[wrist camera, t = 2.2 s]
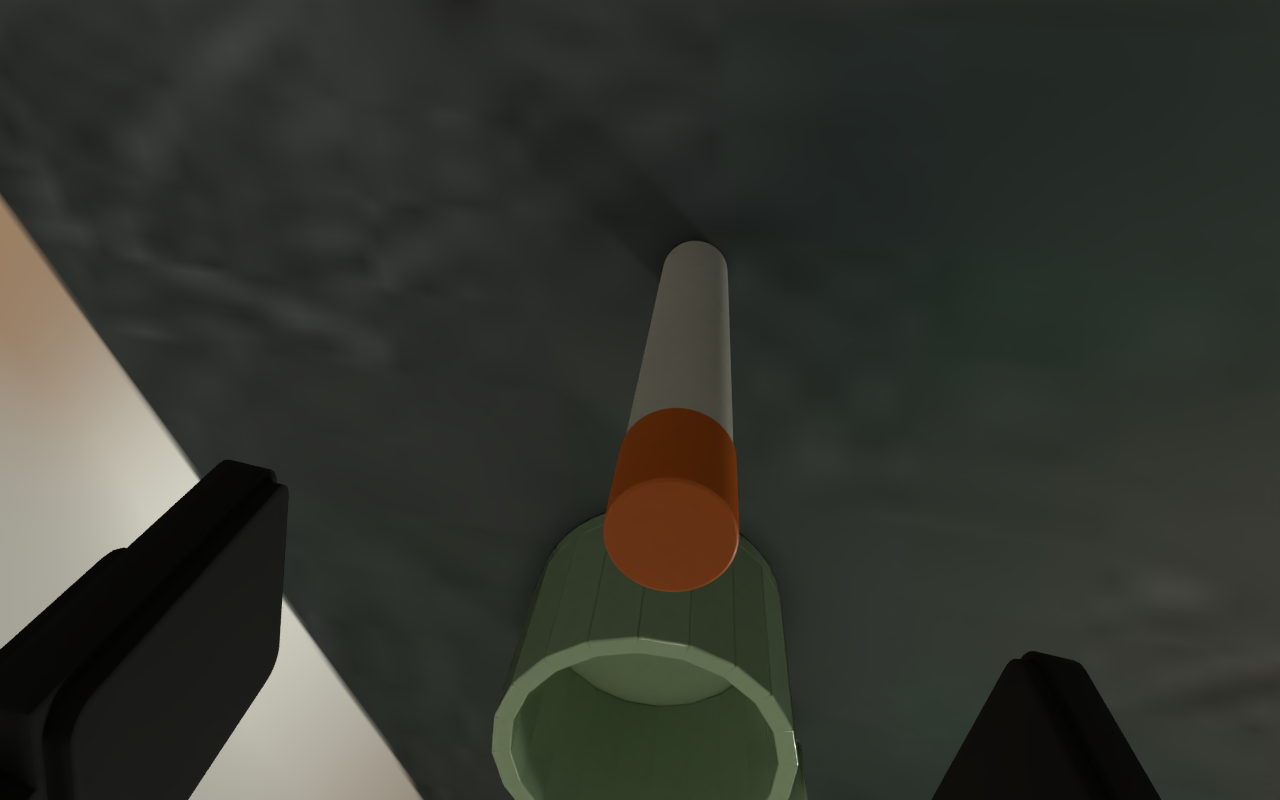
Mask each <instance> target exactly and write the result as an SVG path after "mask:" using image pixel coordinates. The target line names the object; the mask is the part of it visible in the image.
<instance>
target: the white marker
mask: <svg viewBox="0 0 1280 800" xmlns="http://www.w3.org/2000/svg"><path fill="white" fill-rule="evenodd" d="M603 539H604V544H605V547H606V550H607V552H608V554H609V556H610V558H611V560H612V561H613V563H614V564H615V565H616V566H617V568H618V569H619V570H620V571H621V572H622V573H623V574H624V575H626V576H627V577H628V578H630V579H631V580H633V581H635V582H636V583H638V584H640V585H643V586H645V587H648V588H651V589H654V590H659V591H666V592H682V591H689V590H693V589H697V588H699V587H702V586H705V585H707V584H709V583H710V582H712V581H714V580H715V579H717V578H718V577H719V576H720V575H721V574H722V573H724V571H725V570H726V569H727V568H728V567H729V566H730V564H731V562H732V561H733V559H734V557H735V555H736V553H737V549H738V545H739V511H738V485H737V460H736V451H735V447H734V445H733V423H732V392H731V361H730V330H729V300H728V270H727V264H726V261H725V259H724V257H723V255H722V254H721V252H720V251H719V250H718V249H717V248H715V247H714V246H712V245H711V244H709V243H706V242H702V241H688V242H685V243H682V244H680V245H678V246H677V247H675V248H674V249H673V250H672V251H671V252H670V253H669V255H668V256H667V258H666V260H665V262H664V266H663V270H662V275H661V279H660V284H659V289H658V293H657V298H656V302H655V307H654V311H653V316H652V320H651V325H650V329H649V334H648V338H647V343H646V347H645V352H644V356H643V361H642V365H641V370H640V375H639V379H638V384H637V388H636V393H635V397H634V402H633V406H632V411H631V415H630V420H629V424H628V429H627V433H626V435H625V437H624V439H623V441H622V444H621V448H620V452H619V456H618V461H617V465H616V470H615V474H614V478H613V483H612V487H611V492H610V496H609V500H608V505H607V509H606V513H605V518H604V523H603Z"/></svg>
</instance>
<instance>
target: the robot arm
mask: <svg viewBox="0 0 1280 800" xmlns="http://www.w3.org/2000/svg"><path fill="white" fill-rule="evenodd" d="M288 497H289V496H288V488H287V486H285V485H282V484H278V483H277V478H276V475H275V472H274V471H272V470H270V469H266V468H262V467H258V466H254V465H249V464H245V463H241V462H237V461H233V460H224V461H222V462H221V463H219V464H218V465H217V466H216V467H215V468H214V469H212V470H211V471H210V472H209V473H208V474H207V475H206V476H205V477H204V478H203V479H202V480H200V481H199V482H198V483H197V484H196V485H195V486H194V487H193V488H192V489H191V490H190V491H189V492H187V494H185V496H183V497H182V498H181V499H180V500H179V501H178V502H177V503H175V504H174V505H173V506H172V507H171V508H170V509H169V510H168V511H167V512H166V513H165V514H163V515H162V516H161V517H160V518H159V519H158V520H157V521H156V522H155V523H154V524H153V525H151V526H150V527H149V528H148V529H147V530H146V531H145V532H144V533H143V534H142V535H141V536H140V537H138V538H137V539H136V540H135V541H134V542H133V543H132V544H131V545H130V546H129V547H128V548H120V549H116V550H113V551H112V552H110V553H109V554H107V555H106V556H104V557H103V558H102V559H101V560H100V561H98V562H97V563H96V564H95V565H94V566H93V567H92V568H91V569H89V570H88V571H87V572H86V573H85V574H84V575H83V576H82V577H80V578H79V579H78V580H77V581H76V582H75V583H74V584H73V585H72V586H70V587H69V588H68V589H67V590H66V591H65V592H64V593H63V594H62V595H61V596H59V597H58V598H57V599H56V600H55V601H54V602H53V603H52V604H51V605H49V606H48V607H47V608H46V609H45V610H44V611H43V612H41V613H40V614H39V615H38V616H37V617H36V618H35V619H34V620H33V621H31V622H30V623H29V624H28V625H27V626H26V627H25V628H24V629H23V630H21V631H20V632H19V633H18V634H17V635H16V636H15V637H14V638H13V639H12V640H10V641H9V642H8V643H7V644H6V645H5V646H4V647H3V648H1V649H0V800H188V799H189V798H190V796H191V794H192V793H193V791H194V790H195V789H196V787H197V786H198V784H199V782H200V781H201V779H202V778H203V776H204V775H205V773H206V772H207V770H208V769H209V767H210V766H211V764H212V763H213V761H214V760H215V758H216V756H217V755H218V754H219V752H220V750H221V749H222V748H223V746H224V744H225V743H226V742H227V740H228V739H229V737H230V735H231V734H232V732H233V731H234V729H235V728H236V726H237V725H238V723H239V722H240V720H241V719H242V717H243V716H244V714H245V713H246V711H247V710H248V708H249V707H250V705H251V704H252V702H253V701H254V699H255V698H256V696H257V695H258V693H259V692H260V690H261V688H262V687H263V686H264V684H265V682H266V681H267V679H268V677H269V676H270V674H271V672H272V670H273V668H274V665H275V662H276V659H277V655H278V651H279V641H280V625H281V609H282V593H283V577H284V561H285V545H286V529H287V513H288ZM932 800H1161V798H1160V797H1159V795H1158V793H1157V792H1156V790H1155V788H1154V786H1153V785H1152V783H1151V781H1150V780H1149V778H1148V776H1147V774H1146V773H1145V771H1144V769H1143V768H1142V766H1141V764H1140V762H1139V761H1138V759H1137V757H1136V756H1135V754H1134V752H1133V750H1132V749H1131V747H1130V745H1129V744H1128V742H1127V740H1126V738H1125V737H1124V735H1123V733H1122V732H1121V730H1120V728H1119V727H1118V725H1117V723H1116V721H1115V720H1114V718H1113V716H1112V715H1111V713H1110V711H1109V709H1108V708H1107V706H1106V704H1105V703H1104V701H1103V699H1102V697H1101V696H1100V694H1099V692H1098V691H1097V689H1096V687H1095V685H1094V684H1093V682H1092V680H1091V679H1090V677H1089V675H1088V673H1087V672H1086V670H1085V669H1084V668H1083V666H1082V665H1081V664H1080V663H1078V662H1076V661H1074V660H1070V659H1065V658H1061V657H1057V656H1053V655H1048V654H1044V653H1040V652H1036V651H1031V652H1028V653H1026V654H1025V655H1023V657H1022V658H1021V659H1013V660H1011V661H1010V662H1009V663H1008V664H1007V666H1006V667H1005V669H1004V671H1003V672H1002V674H1001V676H1000V678H999V679H998V681H997V683H996V685H995V687H994V688H993V690H992V692H991V694H990V696H989V697H988V699H987V701H986V703H985V705H984V706H983V708H982V710H981V712H980V714H979V715H978V717H977V719H976V721H975V723H974V724H973V726H972V728H971V730H970V732H969V733H968V735H967V737H966V739H965V741H964V742H963V744H962V746H961V748H960V749H959V751H958V753H957V755H956V757H955V758H954V760H953V762H952V764H951V766H950V767H949V769H948V771H947V773H946V775H945V776H944V778H943V780H942V782H941V784H940V785H939V787H938V789H937V791H936V793H935V794H934V796H933V798H932Z"/></svg>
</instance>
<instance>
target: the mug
mask: <svg viewBox="0 0 1280 800" xmlns="http://www.w3.org/2000/svg"><path fill="white" fill-rule="evenodd" d="M604 518H605V513H604V514H602V515H600V516H597V517H595V518H592V519H590V520H589V521H587V522H585V523H583V524H582V525H580V526H578V527H577V528H576V529H574V530H573V531H572V532H570V533H569V534H568V535H567V536H566V537H565V538H564V539H563V540H562V541H561V542H560V543H559V544H558V545H557V546H556V547H555V549H554V550H553V552H552V553H551V554H550V556H549V557H548V559H547V561H546V563H545V565H544V567H543V570H542V573H541V576H540V579H539V581H538V583H537V585H536V587H535V590H534V593H533V596H532V599H531V603H530V606H529V609H528V612H527V615H526V618H525V621H524V624H523V628H522V631H521V634H520V637H519V640H518V643H517V646H516V649H515V652H514V656H513V659H512V662H511V665H510V668H509V671H508V674H507V677H506V681H505V684H504V687H503V690H502V693H501V696H500V699H499V702H498V706H497V709H496V712H495V715H494V724H493V738H492V754H493V757H494V759H495V762H496V765H497V768H498V771H499V774H500V776H501V779H502V782H503V784H504V786H505V788H506V789H507V790H508V791H509V792H510V794H511V795H512V796H513V797H514V799H515V800H808V799H807V790H806V781H805V772H804V764H803V755H802V746H801V743H800V741H799V740H798V739H797V738H796V734H795V724H794V715H793V705H792V696H791V686H790V677H789V668H788V658H787V649H786V639H785V630H784V622H783V615H782V607H781V599H780V594H779V589H778V585H777V583H776V580H775V577H774V575H773V573H772V571H771V569H770V567H769V566H768V564H767V562H766V561H765V559H764V558H763V557H762V555H761V554H760V553H759V551H758V550H757V549H756V548H755V547H754V546H753V545H752V544H751V543H750V542H749V541H748V540H747V539H746V538H744V537H743V536H742V535H740V534H739V545H738V549H737V553H736V555H735V557H734V559H733V561H732V562H731V564H730V566H729V567H728V568H727V569H726V570H725V571H724V573H722V574H721V575H720V576H719V577H718V578H717V579H715V580H714V581H712V582H710V583H709V584H707V585H705V586H702V587H699V588H697V589H693V590H689V591H682V592H666V591H659V590H654V589H651V588H648V587H645V586H643V585H640V584H638V583H636V582H635V581H633V580H631V579H630V578H628V577H627V576H626V575H624V574H623V573H622V572H621V571H620V570H619V569H618V568H617V566H616V565H615V564H614V563H613V561H612V560H611V558H610V556H609V554H608V552H607V550H606V547H605V544H604V539H603V523H604Z"/></svg>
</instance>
